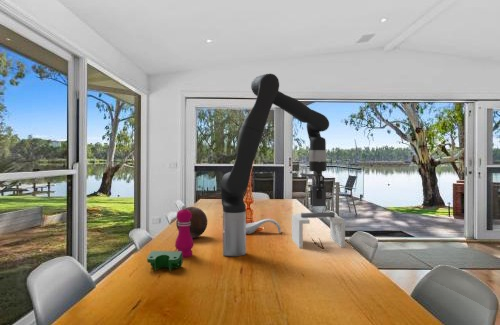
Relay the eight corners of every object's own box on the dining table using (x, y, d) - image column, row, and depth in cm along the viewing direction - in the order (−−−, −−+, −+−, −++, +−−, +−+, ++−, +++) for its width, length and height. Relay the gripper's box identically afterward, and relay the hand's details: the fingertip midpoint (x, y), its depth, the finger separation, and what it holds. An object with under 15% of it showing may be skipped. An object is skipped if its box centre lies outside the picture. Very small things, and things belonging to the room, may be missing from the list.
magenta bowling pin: (197, 254, 157) (196, 204, 157) (186, 258, 151) (186, 207, 150) (182, 252, 160) (181, 204, 160) (171, 256, 154) (171, 206, 153)
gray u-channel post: (312, 206, 173) (312, 186, 173) (310, 205, 178) (310, 185, 178) (325, 206, 173) (325, 186, 173) (323, 204, 178) (323, 185, 178)
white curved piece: (234, 234, 197) (234, 220, 197) (236, 230, 209) (236, 217, 208) (281, 235, 195) (281, 221, 195) (280, 230, 207) (280, 217, 207)
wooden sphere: (211, 235, 195) (210, 205, 195) (202, 241, 181) (202, 209, 180) (182, 234, 198) (182, 204, 198) (171, 240, 183) (171, 208, 183)
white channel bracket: (299, 248, 167) (299, 215, 167) (292, 239, 185) (292, 209, 185) (344, 247, 168) (345, 215, 168) (333, 238, 186) (333, 209, 186)
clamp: (153, 282, 136) (141, 260, 134) (158, 273, 141) (147, 252, 139) (183, 271, 134) (172, 248, 132) (187, 262, 139) (176, 240, 137)
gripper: (306, 160, 182) (306, 196, 182) (313, 160, 168) (313, 200, 168) (322, 160, 183) (322, 196, 183) (330, 160, 168) (330, 199, 169)
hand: (317, 198), depth 175 cm, fingers closed on gray u-channel post, 5 cm apart
